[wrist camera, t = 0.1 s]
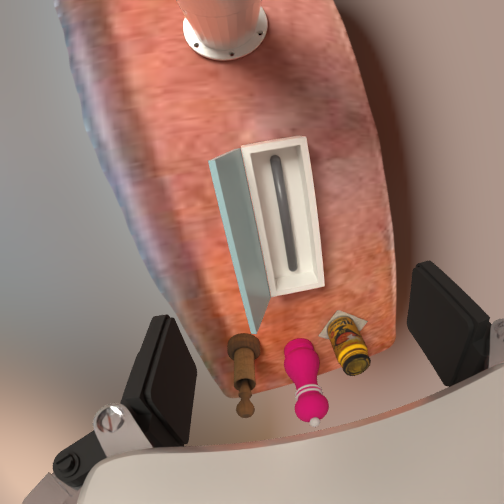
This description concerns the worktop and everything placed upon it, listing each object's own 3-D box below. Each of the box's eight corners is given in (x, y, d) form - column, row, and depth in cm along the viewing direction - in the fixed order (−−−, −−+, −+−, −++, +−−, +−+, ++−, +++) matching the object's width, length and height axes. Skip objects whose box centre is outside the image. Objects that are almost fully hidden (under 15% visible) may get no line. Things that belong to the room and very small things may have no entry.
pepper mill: (319, 337, 58) (343, 414, 40) (308, 361, 61) (326, 435, 43) (287, 334, 58) (302, 414, 39) (277, 358, 60) (288, 436, 42)
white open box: (241, 145, 42) (241, 148, 38) (299, 135, 42) (306, 136, 37) (268, 281, 52) (271, 297, 48) (317, 271, 52) (324, 286, 47)
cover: (240, 148, 38) (234, 149, 38) (214, 159, 30) (208, 160, 30) (270, 296, 48) (266, 297, 48) (256, 333, 40) (251, 333, 40)
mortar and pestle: (255, 329, 57) (260, 402, 40) (263, 351, 59) (270, 421, 43) (223, 337, 57) (219, 409, 41) (233, 358, 60) (232, 427, 44)
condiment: (337, 309, 56) (355, 350, 45) (367, 320, 57) (388, 359, 46) (317, 335, 58) (331, 377, 47) (348, 345, 60) (364, 384, 49)
